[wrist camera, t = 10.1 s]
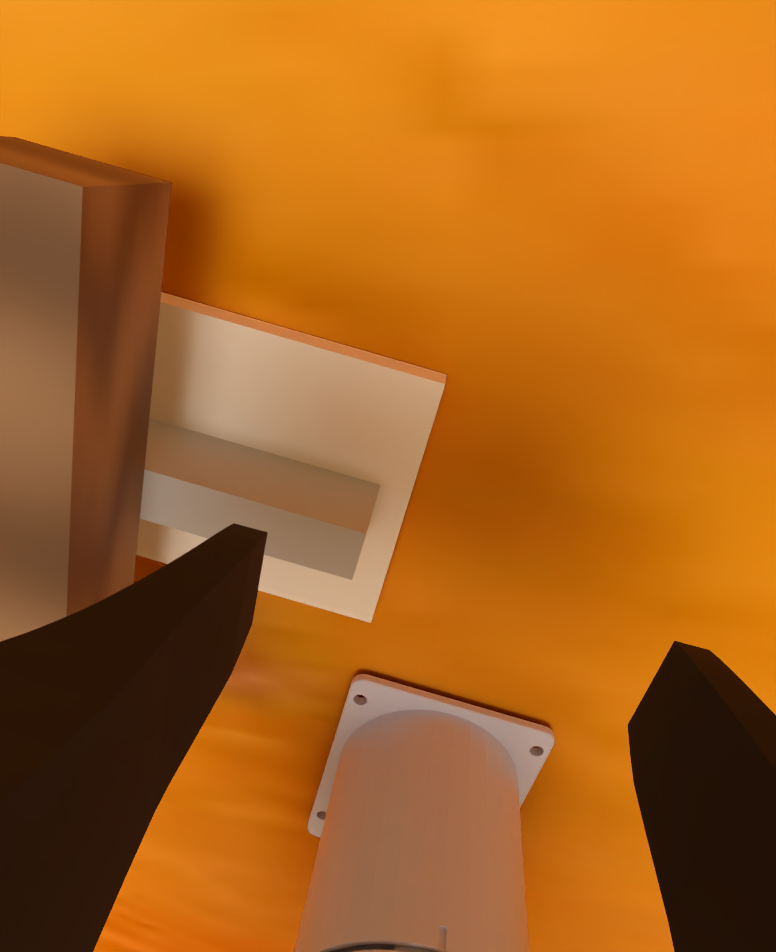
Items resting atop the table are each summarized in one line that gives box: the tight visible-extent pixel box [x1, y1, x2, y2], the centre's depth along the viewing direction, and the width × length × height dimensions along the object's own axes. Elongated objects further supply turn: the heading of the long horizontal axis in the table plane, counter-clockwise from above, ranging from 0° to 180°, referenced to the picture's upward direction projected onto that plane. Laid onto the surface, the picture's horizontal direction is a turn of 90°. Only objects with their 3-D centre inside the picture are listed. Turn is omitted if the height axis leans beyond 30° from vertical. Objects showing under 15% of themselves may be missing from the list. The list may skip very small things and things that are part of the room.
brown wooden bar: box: [0, 136, 172, 642], centre depth 16 cm, size 16×4×4 cm, turn 165°
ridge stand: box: [136, 292, 447, 623], centre depth 20 cm, size 9×18×4 cm, turn 76°
